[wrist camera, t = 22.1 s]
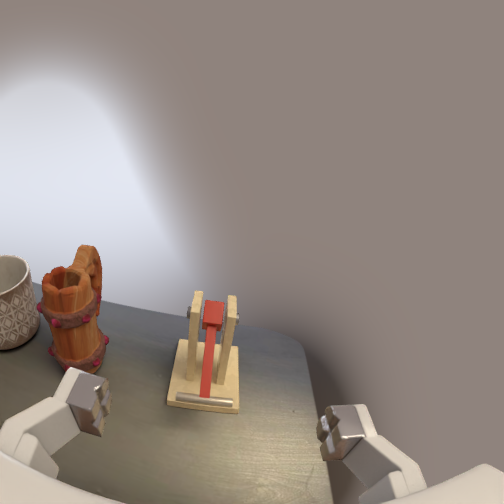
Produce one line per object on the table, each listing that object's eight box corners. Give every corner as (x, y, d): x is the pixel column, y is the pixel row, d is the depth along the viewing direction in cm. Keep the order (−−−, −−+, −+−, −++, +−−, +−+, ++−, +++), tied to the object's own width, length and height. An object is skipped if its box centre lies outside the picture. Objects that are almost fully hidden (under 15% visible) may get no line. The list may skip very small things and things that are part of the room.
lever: (230, 408, 29) (233, 407, 27) (176, 401, 28) (174, 399, 26) (237, 312, 36) (240, 304, 34) (189, 305, 35) (189, 297, 33)
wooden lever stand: (237, 414, 33) (257, 343, 28) (167, 405, 32) (165, 330, 27) (236, 352, 44) (251, 282, 39) (179, 344, 43) (183, 272, 38)
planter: (17, 298, 41) (6, 248, 37) (55, 326, 38) (43, 270, 34) (-30, 329, 29) (-48, 276, 25) (2, 367, 27) (-21, 309, 23)
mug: (99, 393, 30) (77, 298, 25) (47, 378, 29) (17, 284, 23) (124, 325, 44) (120, 240, 38) (81, 317, 42) (71, 234, 37)
